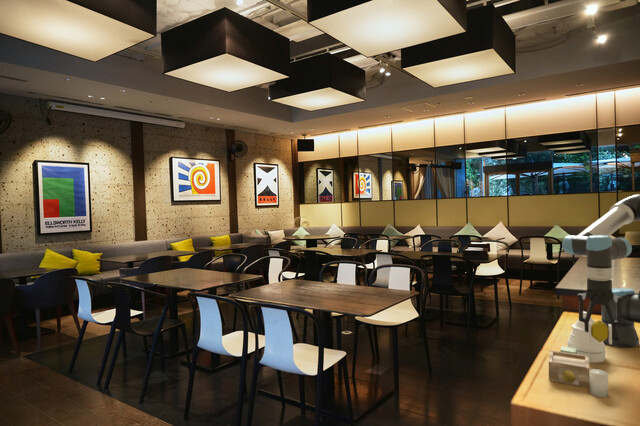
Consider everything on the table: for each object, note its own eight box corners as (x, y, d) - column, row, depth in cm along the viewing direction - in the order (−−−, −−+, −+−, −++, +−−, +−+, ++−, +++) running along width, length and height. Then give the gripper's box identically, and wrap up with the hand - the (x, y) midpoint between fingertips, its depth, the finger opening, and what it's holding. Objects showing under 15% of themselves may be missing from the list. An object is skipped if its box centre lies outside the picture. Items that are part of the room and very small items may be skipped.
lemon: (603, 346, 151) (603, 323, 150) (587, 341, 156) (587, 320, 155) (612, 343, 153) (612, 321, 153) (596, 338, 158) (596, 317, 158)
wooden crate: (550, 368, 159) (550, 350, 158) (588, 375, 152) (588, 355, 152) (548, 381, 148) (548, 362, 148) (589, 389, 142) (589, 368, 141)
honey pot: (591, 364, 161) (591, 317, 160) (559, 353, 173) (559, 309, 172) (612, 358, 166) (613, 313, 165) (581, 348, 178) (581, 305, 177)
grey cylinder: (601, 389, 141) (601, 368, 140) (611, 396, 136) (611, 375, 135) (586, 390, 140) (586, 369, 140) (596, 397, 135) (596, 375, 135)
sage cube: (562, 358, 168) (562, 345, 167) (576, 361, 165) (576, 348, 164) (560, 362, 164) (560, 349, 163) (575, 365, 161) (575, 352, 160)
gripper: (569, 279, 154) (570, 341, 155) (632, 282, 145) (633, 349, 146) (569, 275, 161) (569, 335, 162) (629, 278, 152) (629, 341, 153)
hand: (599, 341), depth 154 cm, fingers closed on lemon, 5 cm apart
